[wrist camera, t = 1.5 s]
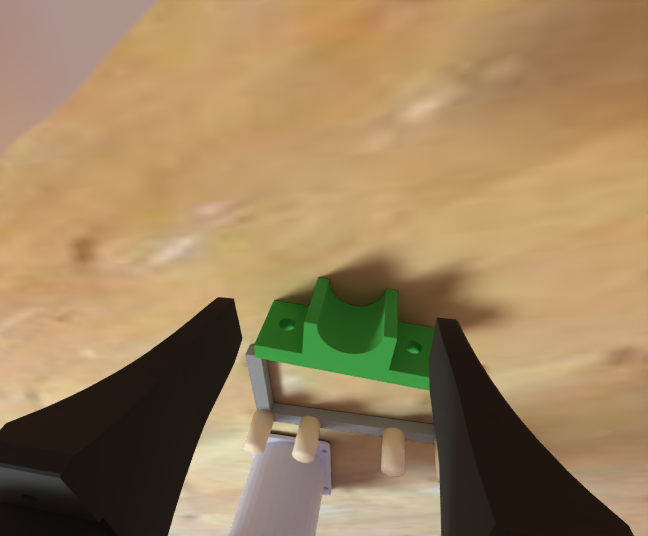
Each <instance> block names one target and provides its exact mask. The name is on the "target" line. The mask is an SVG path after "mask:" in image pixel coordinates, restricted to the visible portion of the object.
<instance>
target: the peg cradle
mask: <svg viewBox="0 0 648 536" xmlns="http://www.w3.org/2000/svg"><path fill="white" fill-rule="evenodd" d="M246 360H247V364H248V369H249V374H250V379H251V384H252V389H253V394H254V398H255V403H256V408H257V411H256V412H255V413H254V416H253V419H252V422H251V424H250V427H249V430H248V433H247V435H246V438H245V441H244V444H243V449H244V450H245V451H246V452H248V453H250V454H253V455H261V454H263V453H264V451H265V448H266V445H267V441H268V438H269V435H270V432H271V428H272V425H273V422H274V421H275V422H282V423H289V424H296V425H299V428H298V432H297V436H296V440H295V444H294V448H293V452H292V456H293V458H294V459H296V460H297V461H300V462H303V463H310V462H312V461H314V458H315V453H316V448H317V443H318V438H319V432H320V428H324V429H331V430H338V431H345V432H352V433H359V434H366V435H373V436H380V437H383V438H382V460H381V471H382V472H383V473H384V474H386V475H388V476H392V477H399V476H402V475H404V474H405V440H408V441H415V442H422V443H430V444H434V453H435V467H436V479H437V481H438V482H440V476H439V459H438V449H437V441H436V434H435V427H434V424H427V423H420V422H412V421H405V420H397V419H390V418H383V417H375V416H368V415H360V414H353V413H345V412H338V411H330V410H323V409H316V408H308V407H301V406H293V405H286V404H278V403H274V402H273V396H272V389H271V383H270V377H269V371H268V365H267V359H261V358H256V357H255V349H254V345H250V346H249V348H248V350H247V352H246Z"/></svg>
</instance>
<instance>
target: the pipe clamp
mask: <svg viewBox="0 0 648 536" xmlns="http://www.w3.org/2000/svg"><path fill="white" fill-rule="evenodd" d="M434 330H435V328H432V327H426V326H420V325H415V324H409V323H403V322H398V291H397V290H391V289H386V291H385V294H384V295H383V297H382V298H381V299H380V300H378V301H377V302H375V303H373V304H371V305H367V306H353V305H349V304H347V303H344V302H343V301H341V300H340V299H338V298H337V297H336V296H335V295H334V293H333V292H332V290H331V288H330V283H329V279H325V278H319V277H318V280H317V283H316V286H315V289H314V293H313V296H312V299H311V302H310V305H309V306H305V305H299V304H293V303H287V302H282V301H276V300H274V302H273V304H272V306H271V308H270V311H269V313H268V315H267V317H266V320H265V322H264V324H263V326H262V329H261V331H260V333H259V335H258V338H257V340H256V342H255V344H254V349H255V357H256V358H261V359H267V360H272V361H277V362H282V363H288V364H293V365H298V366H303V367H309V368H314V369H319V370H324V371H330V372H335V373H340V374H345V375H351V376H356V377H361V378H366V379H372V380H377V381H382V382H387V383H393V384H398V385H403V386H409V387H414V388H419V389H424V390H430V389H429V356H430V351H431V346H432V341H433V336H434Z"/></svg>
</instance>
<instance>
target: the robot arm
mask: <svg viewBox="0 0 648 536" xmlns="http://www.w3.org/2000/svg"><path fill="white" fill-rule="evenodd" d="M241 341H242V334H241V330H240V325H239V320H238V316H237V311H236V307H235V302H234V299H232V298H222V297H218V298H216V299H215V300H214V301H213V302H211V303H210V304H209V305H208V306H206V307H205V308H204V309H203V310H202V311H200V312H199V313H198V314H197V315H196V316H194V317H193V318H192V319H191V320H190V321H188V322H187V323H186V324H185V325H183V326H182V327H181V328H180V329H178V330H177V331H176V332H175V333H173V334H172V335H171V336H169V337H168V338H167V339H165V340H164V341H162V342H161V343H160V344H158V345H157V346H156V347H154V348H153V349H152V350H150V351H149V352H147V353H146V354H144V355H143V356H141V357H140V358H138V359H137V360H135V361H134V362H132V363H131V364H129V365H127V366H126V367H124V368H123V369H121V370H119V371H117V372H116V373H114V374H112V375H110V376H108V377H107V378H105V379H103V380H101V381H99V382H98V383H96V384H94V385H92V386H90V387H88V388H86V389H84V390H82V391H80V392H78V393H76V394H74V395H72V396H70V397H68V398H66V399H63V400H61V401H59V402H57V403H55V404H52V405H50V406H48V407H45V408H43V409H41V410H38V411H36V412H33V413H31V414H28V415H26V416H23V417H21V418H18V419H16V420H13V421H10V422H8V423H6V424H5V425H4V426H3V427H2V428H1V429H0V536H168V533H169V529H170V526H171V522H172V519H173V515H174V512H175V509H176V506H177V502H178V499H179V496H180V493H181V490H182V487H183V483H184V480H185V477H186V474H187V472H188V469H189V466H190V463H191V460H192V457H193V454H194V451H195V449H196V446H197V443H198V441H199V438H200V435H201V433H202V430H203V427H204V425H205V423H206V421H207V418H208V416H209V414H210V412H211V410H212V408H213V406H214V404H215V402H216V400H217V398H218V396H219V394H220V392H221V390H222V388H223V386H224V384H225V382H226V379H227V377H228V375H229V373H230V371H231V369H232V367H233V365H234V362H235V360H236V357H237V354H238V351H239V348H240V345H241ZM429 389H430V396H431V404H432V412H433V419H434V427H435V434H436V441H437V449H438V459H439V476H440V503H441V536H634V535H633V533H632V531H631V529H630V527H629V526H628V525H627V524H626V523H625V522H624V521H623V520H622V519H620V518H619V517H618V516H617V515H616V514H615V513H613V512H612V511H611V510H610V509H609V508H608V507H607V506H605V505H604V504H603V503H602V502H601V501H600V500H598V499H597V498H596V497H595V496H594V495H593V494H592V493H590V492H589V491H588V490H587V489H586V488H585V487H584V486H583V485H582V484H581V483H580V482H579V481H578V480H577V479H575V478H574V477H573V476H572V475H571V474H570V473H569V472H568V471H567V470H566V469H565V468H564V467H563V466H562V465H561V464H560V463H559V461H558V460H557V459H556V458H555V457H554V456H553V455H552V454H551V453H550V452H549V451H548V450H547V449H546V448H545V447H544V446H543V445H542V444H541V443H540V442H539V440H538V439H537V438H536V437H535V436H534V435H533V434H532V432H531V431H530V430H529V429H528V428H527V427H526V425H525V424H524V423H523V422H522V421H521V419H520V418H519V417H518V416H517V414H516V413H515V412H514V411H513V409H512V408H511V407H510V406H509V404H508V403H507V402H506V400H505V399H504V397H503V396H502V395H501V393H500V392H499V390H498V389H497V388H496V386H495V385H494V383H493V382H492V380H491V379H490V377H489V376H488V374H487V373H486V371H485V369H484V368H483V366H482V365H481V363H480V361H479V360H478V358H477V356H476V355H475V353H474V351H473V349H472V348H471V346H470V344H469V342H468V340H467V338H466V337H465V335H464V333H463V331H462V329H461V326H460V324H459V322H458V321H457V320H456V319H445V318H437V320H436V325H435V330H434V336H433V341H432V346H431V351H430V356H429ZM295 440H296V437H290V436H284V435H277V434H270V435H269V438H268V441H267V445H266V448H265V451H264V453H263V454H261V455H253V454H252V458H253V462H252V465H251V468H250V471H249V474H248V477H247V480H246V483H245V486H244V489H243V492H242V495H241V498H240V501H239V504H238V507H237V510H236V513H235V517H234V520H233V523H232V526H231V529H230V532H229V535H228V536H315V534H316V528H317V522H318V516H319V510H320V504H321V497H322V495H330V494H331V457H330V444H329V443H328V442H324V441H318V443H317V448H316V453H315V458H314V461H312V462H310V463H303V462H300V461H297V460H296V459H294V458H293V456H292V452H293V448H294V444H295Z"/></svg>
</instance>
